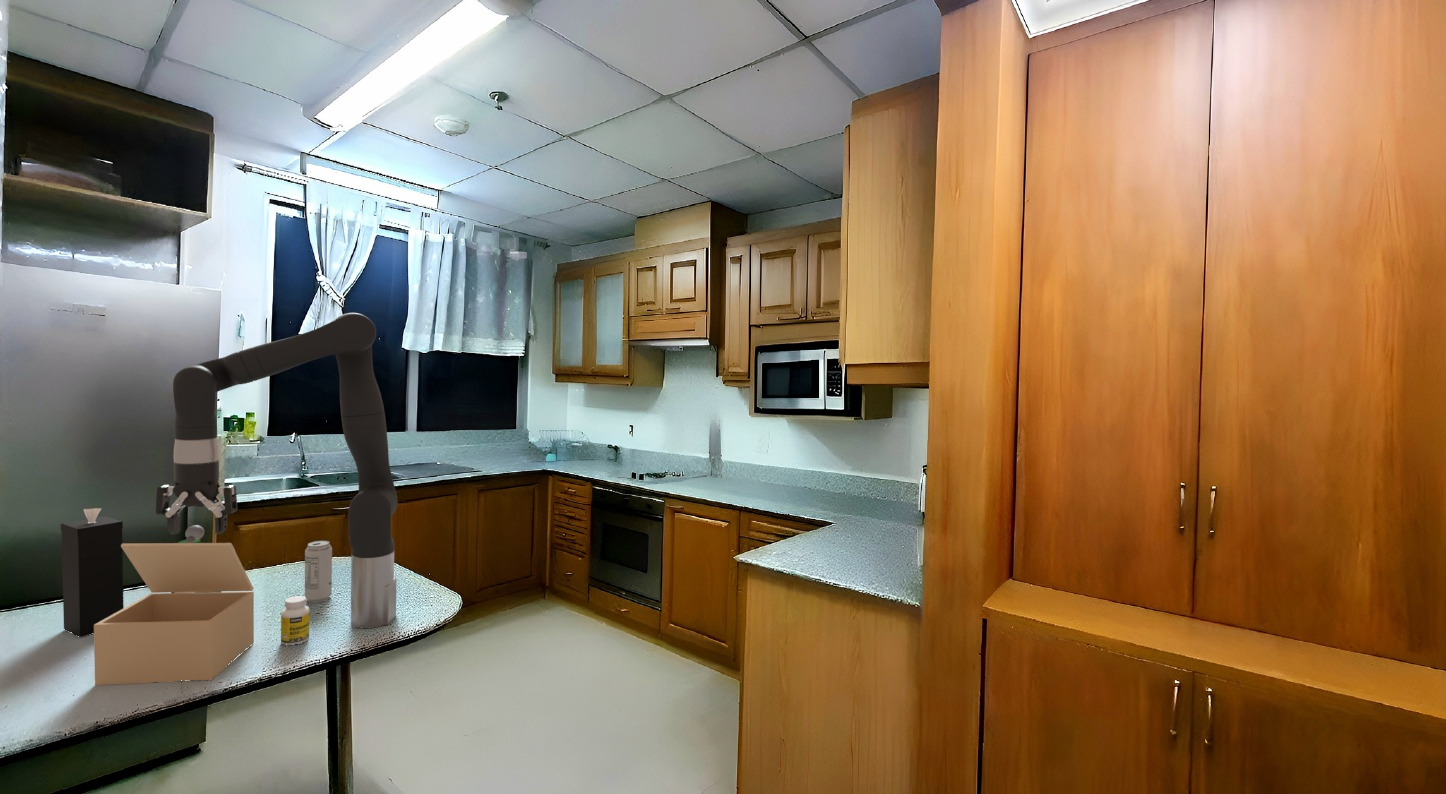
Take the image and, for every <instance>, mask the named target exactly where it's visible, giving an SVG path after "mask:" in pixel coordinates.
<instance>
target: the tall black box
mask: <svg viewBox="0 0 1446 794" xmlns="http://www.w3.org/2000/svg"><path fill="white" fill-rule="evenodd" d="M82 510H83V513H84V515H85V517H86V519H80V520H79V519H78V520H75V521H73V520H72V521H68V522H61V523H60V531H61V557H62V559H61V561H62V563H61V564H62V604H63V605H62V608H63V630H64V629H65V630H67V631H69V632H72V633H73V634H74V636H76V635H77V636H76V637H78V636H79V637H78V638H83V636H84V637H87V636H90V635H89V634H91V635H93V634H92V633H94V625H95V624H96V623H98V622H100V621H102V620H104V619H105V618H107V617H109V616H111V615H113V614H114V613H116V612H118V611H120V610H122V609H124V608H125V607H124V559H123V558H124V557H123V556H124V555H123V554H124V553H123V552H124V550H123V549H122V547H121V545H122V543H123V528H124V527H123V521H122V520H118V519H115V518H113V517H109V516H99V514H100V512H101V511H102V507H101V508H98V507H97V508H95V507H94V508H83V509H82ZM98 516H99V517H98ZM65 630H64V631H65ZM67 631H66V632H67ZM69 632H68V633H69ZM73 634H72V635H73ZM86 635H87V636H86Z"/></svg>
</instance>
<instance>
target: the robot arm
mask: <svg viewBox="0 0 1446 794" xmlns="http://www.w3.org/2000/svg"><path fill="white" fill-rule="evenodd" d="M376 338H377V328H376V325H375V324H374V322H373V321H372V320H371V319H370V318H369V317H367V316H366V315H364V314H361V313H358V312H348V313H347V312H346V313H344V314H341V315H340V316H338V317H337V318H336V319H334V320H332V321H330V322H328V323H326V324H324V325H322V326H319V327H318V328H314V329H312V330H309V331H307V332H303V333H300V334H297V335H294V336H291V337H286V338H283V339H278V340H274V341H271V342H270V341H269V342H266V343H263V344H259V345H256V346H253V347H252V346H251V347H249V348H245V349H242V350H239V351H236V352H234V353H231V354H228V355H227V356H226V355H225V356H223V357H219V358H215V359H212V360H208V361H204V362H201V363H196V364H192V365H189V366H185V367H184V368H182V369H181V370H179V371H178V372H177V373H176V374H175V375H174V377H173V381H172V391H173V393H172V394H173V402H174V403H173V404H174V411H175V420H174V446H173V457H172V458H173V480H174V486H173V485H170V484H164V485H161V486H158V487H157V488H156V501H155V514H156V515H162V516H164V517H166V522H167V523H166V524H167V532H168V533H169V534H170V535H171V536H172V535H177V534H179V533H180V532H181V515H179V513H181V511H183V509H184V508H185V507H187V508H189V507H190V508H191V507H199V508H201V507H206V508H207V510H209V511H211V512H212V514H214V516H215V517H214V523H215V524H214V528H215V529H214V530H215V531H214V533H215V535H222V534H223V533H224V532H225V531H226V530H227V529H228V516H230V515H231V514H234V513H237V511H238V500H237V499H238V496H237V487H236V485H235V484H231V485H228V486H221V485H220V484H219V480H220V446H219V440H218V419H217V418H218V417H217V414H216V393H218V392H220V391H224V390H226V389H228V388H232V387H235V386H239V385H246V384H249V383H253V382H256V381H260V380H261V379H265V378H267V377H270V376H274V375H277V374H279V373H282V372H285V371H288V370H290V369H292V368H295V367H298V366H300V365H301V366H302V364H306V363H308V362H312V361H314V360H317V359H321V358H324V357H328V356H332V355H333V356H334V355H335V358H336V362H337V367H338V368H337V369H338V373H339V405H340V406H339V408H340V416H341V426H342V432H343V436H344V440H345V442H346V444H347V447H348V450H349V452H350V454H351V456H352V458H353V460H354V463H355V465H356V466H355V467H356V470H357V479H358V481H357V482H358V493H357V494H356V495H355V496H354V497H353V498H352V499H351V501H350V504H349V506H348V518H347V520H348V522H347V523H348V524H347V525H348V542H349V546H350V549H351V563H350V566H351V567H350V568H351V571H350V575H351V576H350V625H351V626H352V625H353V626H352V627H354V626H355V627H354V628H357V627H360V628H359V629H370V628H369V627H373V628H376V627H378V628H379V627H381V625H382V626H388V625H389V624H390V623H391V622H392V621H393V619H394V618H395V617H396V616H397V578H395V540H394V539H393V537H392V516H393V515H394V514H395V512H396V510H397V508H398V495H397V491H396V487H395V484H394V483H395V482H394V479H393V475H392V471H391V466H390V460H389V459H390V458H389V457H390V456H389V454H390V453H389V442H388V431H387V430H388V429H387V422H386V414H385V413H386V411H385V408H384V401H383V398H382V394H381V391H380V388H379V385H378V382H377V379H376V377H375V376H376V375H375V371H374V365H373V362H374V361H373V343H374V342H375V340H376ZM173 494H174V495H175V496H176V498H177V499H175V501H174V502H173V503H172V504H171V496H172V495H173ZM219 494H221V496H222V498H223V501H222V500H221V499H220V497H218V495H219ZM223 502H224V504H223ZM361 627H362V628H361Z"/></svg>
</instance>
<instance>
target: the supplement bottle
mask: <svg viewBox="0 0 1446 794" xmlns="http://www.w3.org/2000/svg"><path fill="white" fill-rule="evenodd" d="M284 606H285V608H284V609H283V610H282V611H281V612H280V613H281V614H280V643H281V644H282V645H283V644H285V645H284V646H288V645H292V646H294V645H293V644H298V645H300V644H299V643H301V642H304V643H306V642H307V641H308V640H309V638H310V612H311V611H310V607H309V606H308V605H307V599H306V597H305V595H303V596H302V595H296V596H291V597H288V598H286V599H285V600H284ZM307 639H308V640H307ZM306 640H307V641H306ZM286 644H287V645H286ZM301 644H302V643H301Z"/></svg>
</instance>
